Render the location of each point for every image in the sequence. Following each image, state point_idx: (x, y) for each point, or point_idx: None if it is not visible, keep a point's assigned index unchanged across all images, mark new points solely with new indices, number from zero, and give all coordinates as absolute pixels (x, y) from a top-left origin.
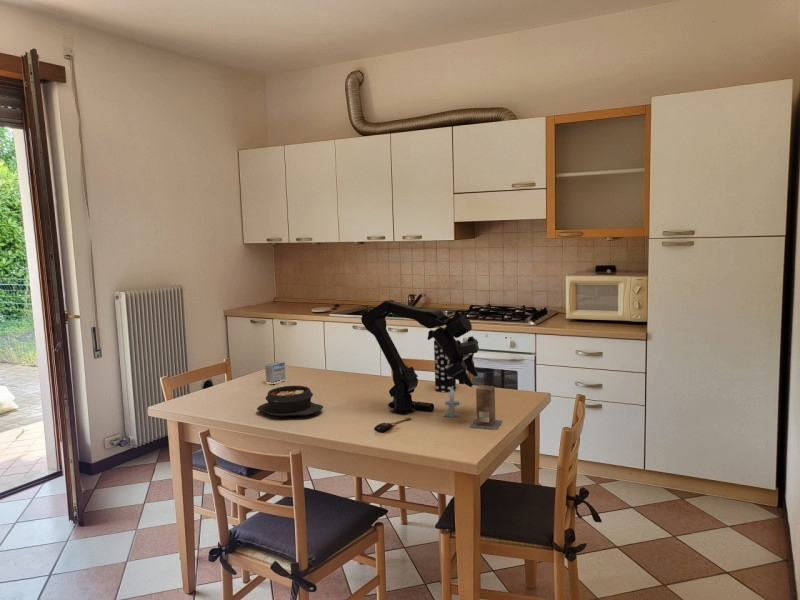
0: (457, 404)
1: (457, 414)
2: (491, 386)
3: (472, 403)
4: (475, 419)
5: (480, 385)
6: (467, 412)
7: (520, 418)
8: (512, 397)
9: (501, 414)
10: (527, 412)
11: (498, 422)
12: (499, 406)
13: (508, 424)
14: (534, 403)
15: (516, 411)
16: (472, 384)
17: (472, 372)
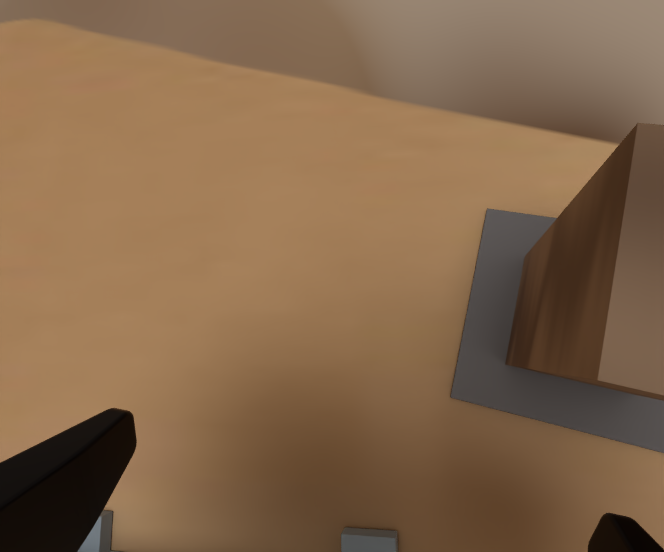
0: (111, 523)
1: (390, 548)
2: (660, 171)
3: (97, 414)
4: (478, 402)
5: (601, 364)
6: (286, 456)
7: (412, 105)
8: (16, 175)
9: (330, 223)
10: (290, 76)
11: (539, 234)
12: (168, 241)
13: (554, 169)
14: (129, 56)
15: (270, 138)
16: (634, 531)
17: (69, 525)
